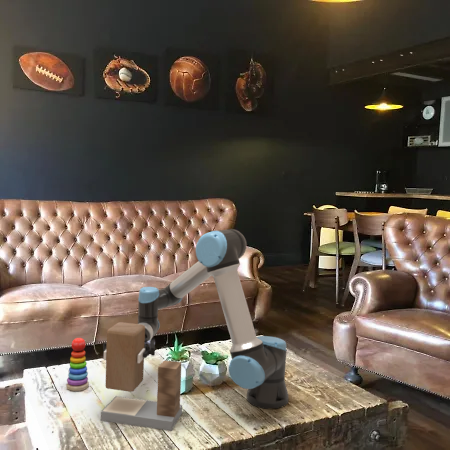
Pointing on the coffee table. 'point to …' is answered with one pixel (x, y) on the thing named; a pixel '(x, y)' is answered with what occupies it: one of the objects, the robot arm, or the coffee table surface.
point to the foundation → (137, 413)
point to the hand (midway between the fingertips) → (121, 357)
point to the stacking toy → (78, 367)
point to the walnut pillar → (169, 388)
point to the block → (124, 356)
